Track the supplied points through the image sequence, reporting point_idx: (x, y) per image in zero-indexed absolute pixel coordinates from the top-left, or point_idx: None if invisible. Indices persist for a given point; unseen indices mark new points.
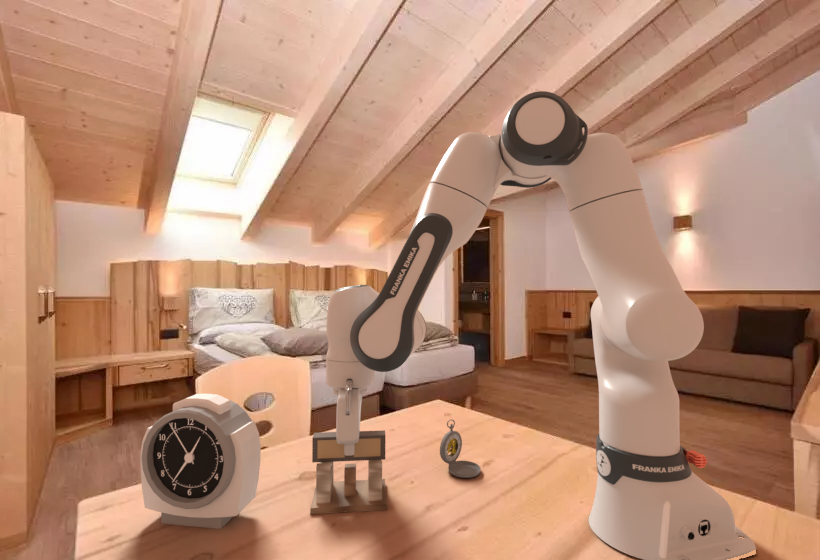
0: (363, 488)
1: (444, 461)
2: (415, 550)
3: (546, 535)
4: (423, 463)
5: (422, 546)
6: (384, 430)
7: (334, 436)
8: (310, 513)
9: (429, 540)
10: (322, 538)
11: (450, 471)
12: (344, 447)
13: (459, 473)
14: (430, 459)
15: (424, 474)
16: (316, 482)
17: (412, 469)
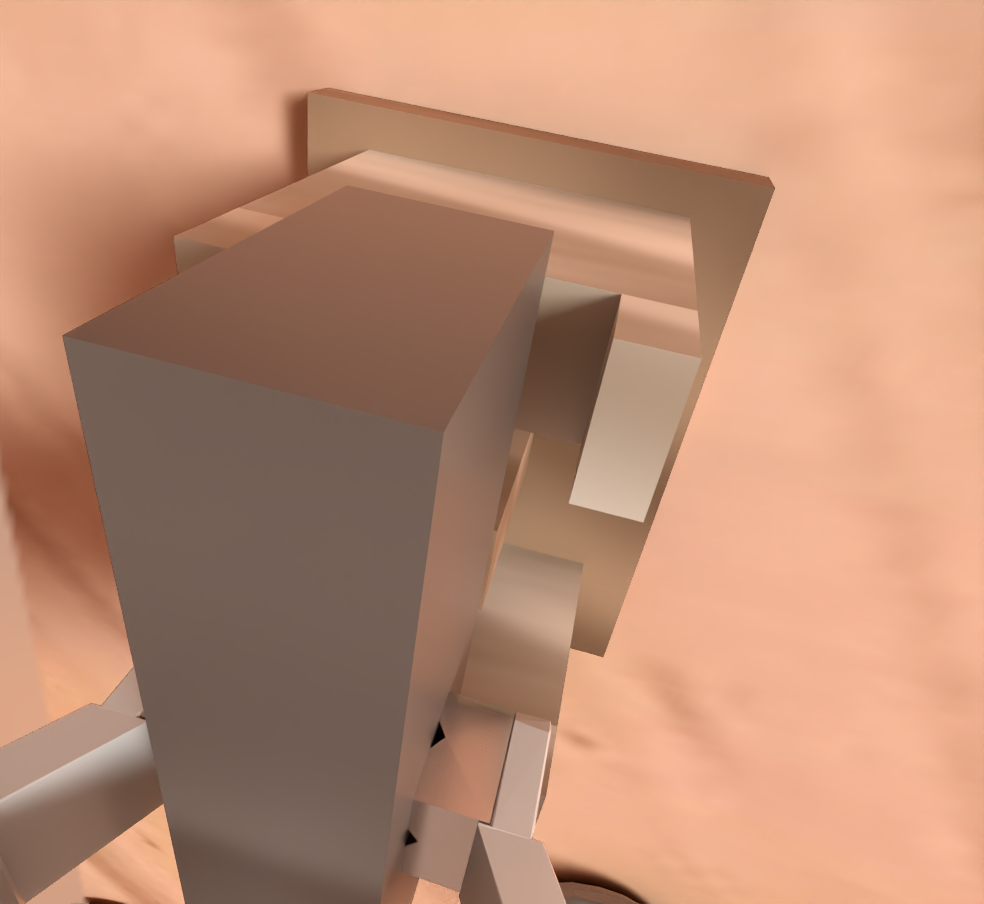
0: (516, 518)
1: None
2: (30, 548)
3: (143, 849)
4: (776, 859)
5: (56, 577)
6: None
7: (170, 724)
8: (328, 89)
9: (94, 610)
10: (60, 162)
11: (581, 892)
12: (119, 684)
13: (573, 900)
14: (807, 898)
15: (640, 809)
16: (282, 190)
17: (729, 796)
